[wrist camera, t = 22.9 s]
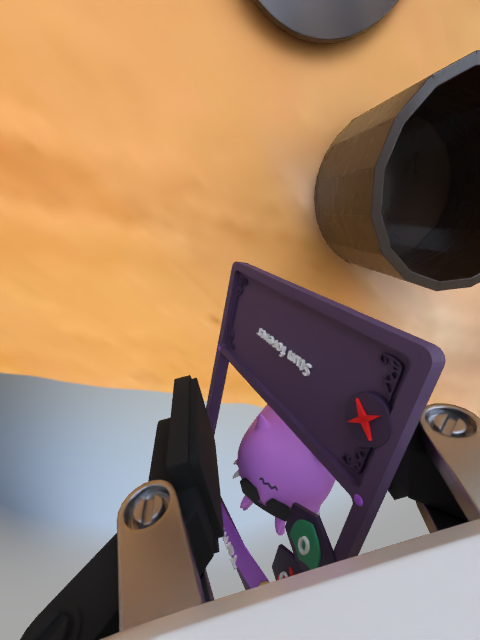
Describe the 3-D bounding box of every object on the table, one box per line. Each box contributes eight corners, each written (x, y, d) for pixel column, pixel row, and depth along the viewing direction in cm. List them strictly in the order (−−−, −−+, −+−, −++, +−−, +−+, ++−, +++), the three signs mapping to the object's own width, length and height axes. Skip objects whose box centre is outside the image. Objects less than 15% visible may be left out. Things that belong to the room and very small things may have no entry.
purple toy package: (407, 355, 4) (262, 710, 7) (546, 344, 7) (400, 603, 9) (212, 257, 9) (177, 476, 12) (330, 272, 12) (279, 449, 15)
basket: (342, 290, 31) (402, 322, 22) (291, 153, 26) (343, 123, 17) (464, 226, 30) (575, 232, 21) (436, 74, 25) (568, -1, 16)
